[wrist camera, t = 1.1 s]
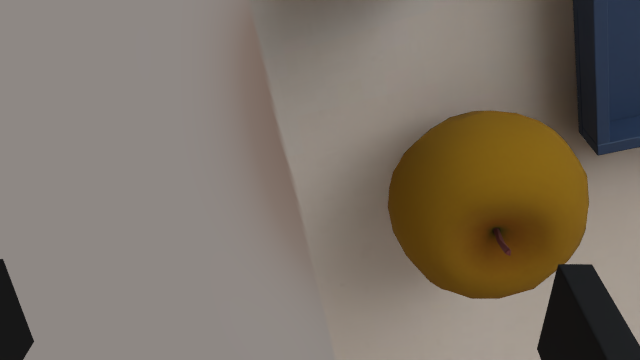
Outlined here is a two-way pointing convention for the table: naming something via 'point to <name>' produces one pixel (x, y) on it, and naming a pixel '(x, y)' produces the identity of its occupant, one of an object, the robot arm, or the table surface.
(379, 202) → the table surface
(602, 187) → the table surface
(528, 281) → the apple
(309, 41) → the table surface
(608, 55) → the fruit tray
